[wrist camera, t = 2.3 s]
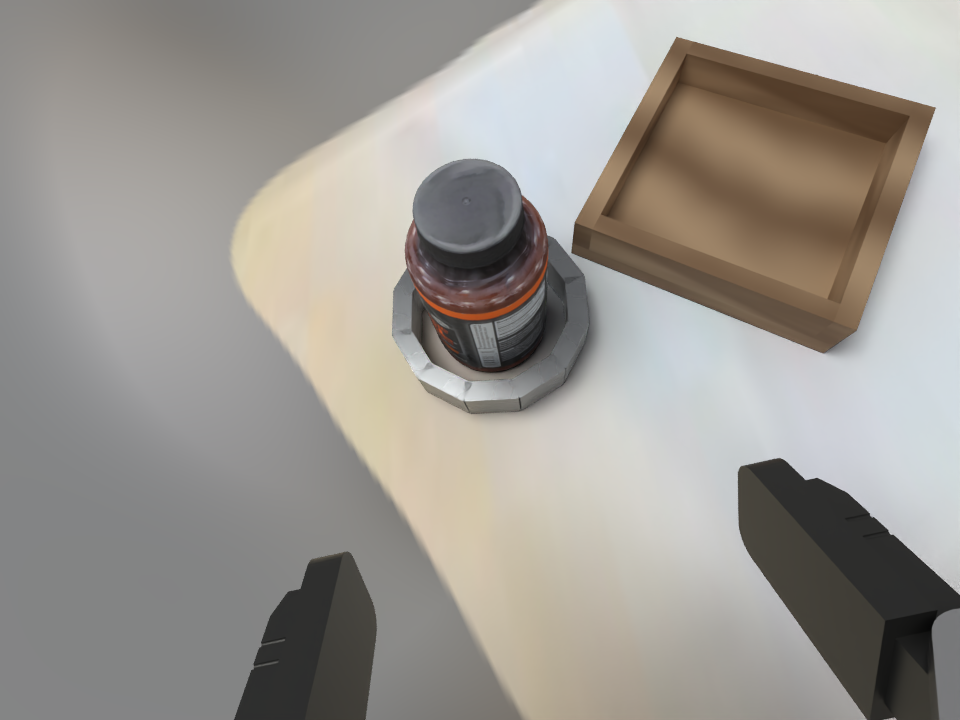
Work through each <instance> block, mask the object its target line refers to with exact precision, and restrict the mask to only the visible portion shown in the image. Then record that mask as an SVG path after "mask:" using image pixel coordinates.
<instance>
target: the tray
mask: <svg viewBox="0 0 960 720" xmlns="http://www.w3.org/2000/svg"><path fill="white" fill-rule="evenodd" d="M935 109H936V108H935V107H931V106H928V105H924V104H920V103H917V102H913V101H909V100H906V99H902V98H898V97H895V96H891V95H887V94H884V93H880V92H876V91H873V90H869V89H865V88H862V87H858V86H854V85H851V84H847V83H843V82H840V81H836V80H832V79H829V78H825V77H821V76H818V75H814V74H810V73H807V72H803V71H799V70H796V69H792V68H788V67H785V66H781V65H777V64H774V63H770V62H766V61H763V60H759V59H755V58H752V57H748V56H744V55H741V54H737V53H733V52H730V51H726V50H722V49H719V48H715V47H711V46H708V45H704V44H700V43H697V42H693V41H689V40H686V39H682V38H678V37H676V39H675V41H674V43H673V45H672V46H671V48H670V50H669V52H668V54H667V55H666V57H665V59H664V61H663V63H662V65H661V66H660V68H659V70H658V72H657V74H656V75H655V77H654V79H653V81H652V83H651V85H650V86H649V88H648V90H647V92H646V94H645V96H644V97H643V99H642V101H641V103H640V105H639V106H638V108H637V110H636V112H635V114H634V116H633V117H632V119H631V121H630V123H629V125H628V126H627V128H626V130H625V132H624V134H623V136H622V137H621V139H620V141H619V143H618V145H617V147H616V148H615V150H614V152H613V154H612V156H611V157H610V159H609V161H608V163H607V165H606V167H605V168H604V170H603V172H602V174H601V176H600V177H599V179H598V181H597V183H596V185H595V187H594V188H593V190H592V192H591V194H590V196H589V198H588V199H587V201H586V203H585V205H584V207H583V208H582V210H581V212H580V214H579V216H578V218H577V219H576V221H575V225H574V234H573V243H572V252H571V253H573V254H576V255H578V256H581V257H583V258H586V259H588V260H591V261H593V262H596V263H598V264H601V265H603V266H606V267H609V268H611V269H614V270H616V271H619V272H621V273H624V274H626V275H629V276H631V277H634V278H636V279H639V280H641V281H644V282H646V283H649V284H651V285H654V286H656V287H659V288H661V289H664V290H666V291H669V292H671V293H674V294H676V295H679V296H681V297H684V298H686V299H689V300H691V301H694V302H696V303H699V304H701V305H704V306H706V307H709V308H711V309H714V310H716V311H719V312H721V313H724V314H726V315H729V316H731V317H734V318H736V319H739V320H741V321H744V322H746V323H749V324H751V325H754V326H756V327H759V328H761V329H764V330H766V331H769V332H771V333H774V334H776V335H779V336H781V337H784V338H786V339H789V340H791V341H794V342H796V343H799V344H801V345H804V346H806V347H809V348H812V349H814V350H817V351H819V352H822V353H824V352H826V351H827V350H829V349H830V348H832V347H833V346H835V345H836V344H837V343H839V342H840V341H842V340H843V339H845V338H846V337H848V336H849V335H851V334H852V333H854V332H855V331H857V328H858V325H859V322H860V320H861V317H862V314H863V311H864V308H865V305H866V303H867V300H868V297H869V294H870V291H871V289H872V286H873V283H874V280H875V277H876V275H877V272H878V269H879V266H880V263H881V260H882V258H883V255H884V252H885V249H886V246H887V244H888V241H889V238H890V235H891V232H892V230H893V227H894V224H895V221H896V218H897V215H898V213H899V210H900V207H901V204H902V201H903V199H904V196H905V193H906V190H907V187H908V185H909V182H910V179H911V176H912V173H913V170H914V168H915V165H916V162H917V159H918V156H919V154H920V151H921V148H922V145H923V142H924V139H925V137H926V134H927V131H928V128H929V125H930V123H931V120H932V117H933V114H934V111H935Z"/></svg>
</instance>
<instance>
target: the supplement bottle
mask: <svg viewBox="0 0 960 720" xmlns="http://www.w3.org/2000/svg"><path fill="white" fill-rule="evenodd" d="M413 218H414V219H413V221H412V224H411V226H410V228H409V231H408V234H407V239H406V243H405V259H406V264H407V270H408V272H409V274H410V277H411V279H412V281H413V284H414V286H415V287H416V290H417V293H418V295H419V296H420V298H421V301H422V303H423V305H424V307H425V309H426V310H427V312H428V315H429V316H430V318H431V321H432V323H433V325H434V327H435V329H436V331H437V334H438V336H439V338H440V340H441V342H442V343H443V345H444V347H445V348H446V349H447V350H448V352H449V353H450V354H451V355H452V356H453V357H454V358H455V359H456V360H457V361H459V362H460V363H462V364H463V365H465V366H467V367H469V368H471V369H474V370H478V371H486V372H487V371H489V372H494V371H502V370H507V369H509V368H512V367H514V366H516V365H518V364H520V363H521V362H523V361H524V360H525V359H527V358H528V357H529V356H530V355H531V354H532V353H533V351H534V350H535V349H536V347H537V346H538V345H539V342H540V341H541V339H542V336H543V332H544V327H545V321H546V302H547V276H548V239H547V233H546V228H545V225H544V223H543V221H542V218H541V217H540V215H539V213H538V211H537V210H536V208H535V207H534V206H533V205H532V204H531V202H530V201H528V200H527V199H526V198H525V197H524V196H522V195H521V191H520V188H519V186H518V184H517V182H516V180H515V178H513V177H512V175H511V174H510V173H509V172H508V171H507V170H506V169H504V168H503V167H501V166H500V165H497V164H495V163H493V162H489V161H487V160H480V159H463V160H458V161H453V162H450V163H448V164H445V165H444V166H441V167H440V168H438V169H436V170H435V171H434V172H432V173H431V174H430V175H429V176H428V177H427V178H426V179H425V180H424V181H423V182H422V184H421V185H420V187H419V188H418V190H417V192H416V194H415V198H414V202H413Z"/></svg>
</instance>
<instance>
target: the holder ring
mask: <svg viewBox="0 0 960 720" xmlns="http://www.w3.org/2000/svg"><path fill="white" fill-rule="evenodd" d="M547 239H548V276H547V282H548V284H549V285H550V286H551V288H552V289H553V290H554V291H555V293H556V294H557V295H558V297H559V298H560V299H561V301H562V302H563V308H564V319H565V327H564V329H563V331H562V333H561V335H560V337H559V339H558V341H557V343H556V345H555V347H554V348H553V350H552V352H551V354H550V356H549V357H547V358H545V359H544V360H542V361H541V362H539V363H537V364H536V365H534V366H533V367H531V368H529V369H528V370H526V371H525V372H523V373H521V374H520V375H518V376H517V377H515V378H513V379H502V380H485V381H467V380H465V379H463V378H461V377H459V376H457V375H455V374H453V373H451V372H449V371H447V370H445V369H443V368H441V367H439V366H437V365H435V364H433V363H431V361H430V360H429V358H428V356H427V355H426V353H425V352H424V350H423V348H422V312H423V310H424V308H425V307H424V305H423V303H422V301H421V298H420V296H419V295H418V293H417V290H416V287H415V286H414V284H413V281H412V279H411V277H410V274H409V272H408V270H407V269H406V271H405V272H404V274H403V275H402V277H401V279H400V280H399V282H398V283H397V285H396V286H395V288H394V291H393V322H392V336H393V339H394V340H395V342H396V344H397V345H398V347H399V349H400V350H401V352H402V354H403V355H404V357H405V359H406V360H407V362H408V364H409V365H410V367H411V369H412V370H413V372H414V374H415V375H416V377H417V378H418V380H419V381H420V382H421V384H422V385H423V387H424V388H425V389H426V391H427V392H429V393H431V394H432V395H434V396H436V397H438V398H440V399H442V400H444V401H446V402H448V403H450V404H452V405H454V406H456V407H458V408H460V409H462V410H464V411H466V412H468V413H471V414H475V413H494V412H513V411H520V409H521V410H524V409H525V408H527V407H528V406H530V405H532V404H533V403H535V402H536V401H538V400H539V399H541V398H543V397H544V396H546V395H547V394H549V393H550V392H552V391H554V390H555V389H557V388H558V387H560V386H562V385H563V383H565V381H566V379H567V377H568V375H569V373H570V371H571V369H572V367H573V365H574V363H575V361H576V359H577V357H578V355H579V353H580V351H581V349H582V347H583V345H584V343H585V340H586V335H587V331H588V326H589V314H588V305H587V296H586V286H585V277H584V274H583V273H582V272H581V270H580V269H579V268H578V267H577V266H576V264H575V263H574V262H573V261H572V259H571V258H570V257H569V256H568V254H567V253H566V252H565V251H564V249H563V248H562V247H561V246H560V244H559V243H558V242H557V241H556V239H554V238H552V237H550V236H547Z"/></svg>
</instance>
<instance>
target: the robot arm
mask: <svg viewBox="0 0 960 720" xmlns="http://www.w3.org/2000/svg"><path fill="white" fill-rule="evenodd" d="M738 514H739V530H740V534H741V537H742V540H743V543H744V545H745V547H746V549H747V551H748V553H749V555H750V556H751V558H752V559H753V561H754V562H755V563H756V565H757V566H758V567H759V569H760V570H761V572H762V573H763V574H764V576H765V577H766V579H767V580H768V581H769V583H770V584H771V586H772V587H773V588H774V590H775V591H776V593H777V594H778V595H779V597H780V598H781V600H782V601H783V602H784V604H785V605H786V607H787V608H788V609H789V611H790V612H791V614H792V615H793V616H794V618H795V619H796V621H797V622H798V623H799V625H800V626H801V628H802V629H803V630H804V632H805V633H806V635H807V636H808V637H809V639H810V640H811V642H812V643H813V644H814V646H815V647H816V649H817V650H818V651H819V653H820V654H821V656H822V657H823V658H824V660H825V661H826V663H827V664H828V665H829V667H830V668H831V670H832V671H833V672H834V674H835V675H836V677H837V678H838V679H839V681H840V682H841V684H842V685H843V686H844V688H845V689H846V691H847V692H848V693H849V695H850V696H851V698H852V699H853V700H854V702H855V703H856V705H857V706H858V707H859V709H860V710H861V712H862V713H863V714H864V716H865V717H866V719H867V720H884V719H889V718H894V717H895V718H896V719H897V720H960V595H959V594H958V593H957V592H956V591H955V590H954V589H952V588H951V587H950V586H949V585H948V584H947V583H946V582H945V581H944V580H943V579H941V578H940V577H939V576H938V575H937V574H936V573H935V572H934V571H933V570H932V569H930V568H929V567H928V566H927V565H926V564H925V563H924V562H923V561H922V560H921V559H919V558H918V557H917V556H916V555H915V554H914V553H913V552H912V551H911V550H910V549H908V548H907V547H906V546H905V545H904V544H903V543H902V542H901V541H900V540H899V539H897V538H896V537H895V536H894V535H890V534H889V532H888V529H886V528H885V527H884V526H883V525H882V524H881V523H880V522H879V521H878V520H877V519H875V518H874V517H873V518H872V517H871V516H870V513H869V512H868V511H867V510H866V509H864V508H863V507H862V506H861V505H860V504H859V503H858V502H857V501H856V500H855V499H853V498H852V497H851V496H850V495H849V494H848V493H847V492H845V491H843V490H841V489H839V488H837V487H835V486H833V485H831V484H829V483H827V482H825V481H823V480H821V479H819V478H815V479H810V480H805V479H804V478H803V477H802V476H801V475H800V474H799V473H798V472H797V471H795V470H794V469H793V468H792V467H791V466H790V465H789V464H788V463H787V462H786V461H785V460H783V459H781V458H777V459H772V460H768V461H763V462H759V463H754V464H749V465H745V466H741V467H740V468H739V471H738ZM376 627H377V626H376V614H375V609H374V605H373V602H372V600H371V598H370V595H369V593H368V590H367V588H366V586H365V584H364V581H363V579H362V576H361V574H360V572H359V570H358V567H357V565H356V563H355V560H354V558H353V556H352V555H351V553H349V552H343V553H339V554H334V555H329V556H325V557H320V558H316V559H312V560H311V561H310V562H309V564H308V566H307V570H306V572H305V576H304V579H303V582H302V586H301V589H299V590H294V591H290V592H288V593H287V594H286V595H285V597H284V598H283V600H282V601H281V602H280V604H279V605H278V606H277V608H276V609H275V610H274V612H273V613H272V615H271V616H270V619H269V621H268V624H267V627H266V630H265V633H264V636H263V639H262V642H261V643H262V646H261V647H260V648H259V650H258V653H257V656H256V659H255V662H254V670H251V673H250V676H249V679H248V682H247V684H246V687H245V690H244V693H243V696H242V699H241V702H240V705H239V707H238V710H237V713H236V717H235V719H234V720H365V719H366V711H367V703H368V696H369V688H370V680H371V672H372V665H373V657H374V649H375V641H376V631H377V628H376Z"/></svg>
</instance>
